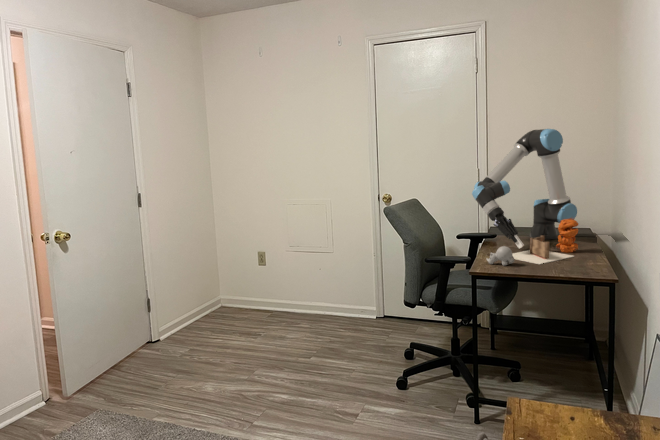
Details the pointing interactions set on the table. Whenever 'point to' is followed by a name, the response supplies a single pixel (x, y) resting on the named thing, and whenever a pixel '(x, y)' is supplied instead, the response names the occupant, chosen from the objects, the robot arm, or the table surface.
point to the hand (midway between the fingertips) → (521, 246)
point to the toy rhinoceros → (502, 256)
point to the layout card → (539, 257)
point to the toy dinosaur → (567, 235)
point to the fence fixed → (536, 239)
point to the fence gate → (541, 248)
